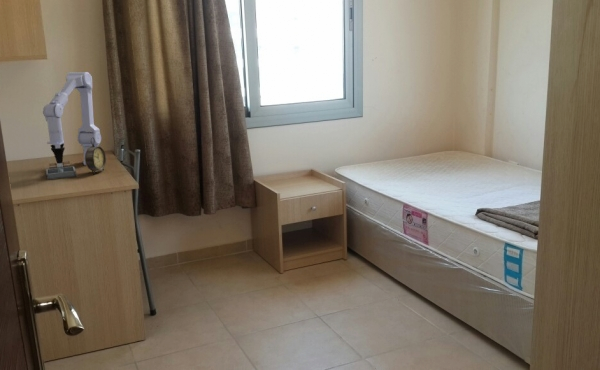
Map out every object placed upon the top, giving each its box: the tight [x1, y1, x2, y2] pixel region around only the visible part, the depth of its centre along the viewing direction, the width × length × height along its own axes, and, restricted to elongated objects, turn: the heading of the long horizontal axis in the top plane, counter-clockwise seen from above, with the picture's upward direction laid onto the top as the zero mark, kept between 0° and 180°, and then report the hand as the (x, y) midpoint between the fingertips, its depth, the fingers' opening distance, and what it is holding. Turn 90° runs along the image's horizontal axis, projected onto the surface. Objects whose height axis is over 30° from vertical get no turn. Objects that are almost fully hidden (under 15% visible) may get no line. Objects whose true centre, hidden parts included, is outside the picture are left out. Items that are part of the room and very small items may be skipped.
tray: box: [45, 165, 77, 181], centre depth 282 cm, size 11×12×2 cm
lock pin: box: [53, 154, 64, 173], centre depth 282 cm, size 3×3×9 cm
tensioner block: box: [48, 160, 71, 169], centre depth 293 cm, size 9×9×3 cm
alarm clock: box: [85, 137, 107, 175], centre depth 285 cm, size 11×5×16 cm, turn 168°
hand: (59, 161), depth 281 cm, fingers open, 7 cm apart
